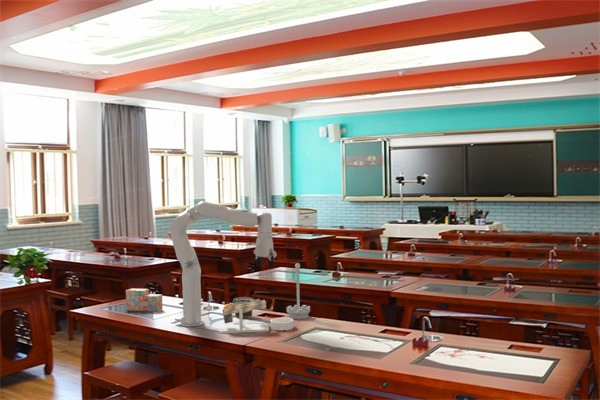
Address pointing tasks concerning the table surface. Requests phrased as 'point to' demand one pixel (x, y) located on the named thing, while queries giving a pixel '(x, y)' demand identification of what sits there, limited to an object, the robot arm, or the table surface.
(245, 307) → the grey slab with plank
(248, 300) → the food container
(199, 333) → the table surface
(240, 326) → the catapult stand
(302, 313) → the flag stand
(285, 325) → the white bowl
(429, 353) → the table surface
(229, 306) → the ball
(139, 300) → the stack of blocks
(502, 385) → the table surface
